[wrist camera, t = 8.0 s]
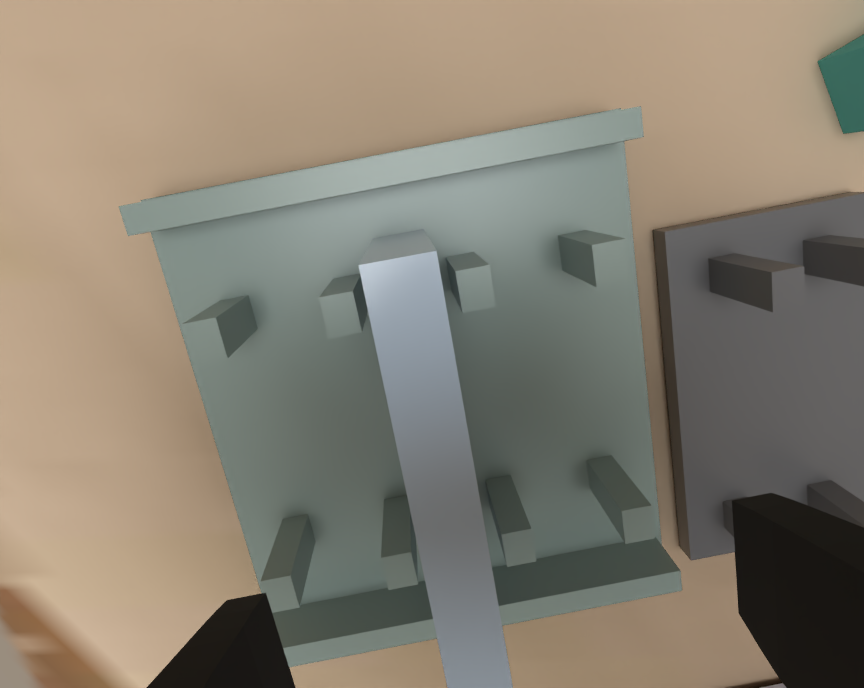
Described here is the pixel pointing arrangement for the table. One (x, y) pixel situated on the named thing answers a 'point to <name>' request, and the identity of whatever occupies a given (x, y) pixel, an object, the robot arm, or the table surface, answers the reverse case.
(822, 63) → the teal pixel shape
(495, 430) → the rack
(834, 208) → the stand
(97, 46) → the table surface
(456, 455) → the long pale grey plank
